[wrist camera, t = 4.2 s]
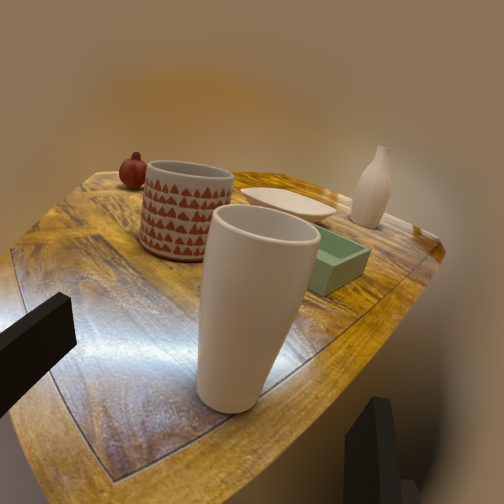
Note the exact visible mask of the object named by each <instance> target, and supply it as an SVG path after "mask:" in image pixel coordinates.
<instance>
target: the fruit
mask: <svg viewBox="0 0 504 504" xmlns="http://www.w3.org/2000/svg"><path fill="white" fill-rule="evenodd" d="M146 168H147V164H146V163H144V162H143V161H142V160H141V157H140V153H139V152H134V153H133V155H132V157H131V159H127V160H126V161H124V162H123V163H122V165H121V167H120V170H119V177H120V180H121V181H122V182H123V183H124V184H125V185H126V186H128V187H130V188H131V189H134V188H138V187H140V186H142V185H143V184H144V183H145V176H146Z"/></svg>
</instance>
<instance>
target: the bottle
mask: <svg viewBox="0 0 504 504" xmlns="http://www.w3.org/2000/svg"><path fill="white" fill-rule="evenodd" d="M390 152H391V150H390V149H388V148H385V147H382V146H377V151H376V155H375V158H374V160H373V161H372V162H371V163H370V165H369V166H368V167H367V168H366V169H365V170H364V172H363V173H362V175H361V176H360V178H359V181H358V183H357V185H356V190H355V194H354V198H353V203H352V210H351V217H350V218H351V221H352V222H354V223H355V224H358V225H360V226H363V227H366V228H370V229H375V228H376V227H377V226H378V224H379V222H380V220H381V218H382V215H383V213H384V211H385V207H386V205H387V202H388V199H389V195H390V189H391V177H390V173H389V168H388V160H389V155H390Z"/></svg>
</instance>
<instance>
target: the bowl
mask: <svg viewBox="0 0 504 504" xmlns="http://www.w3.org/2000/svg"><path fill="white" fill-rule="evenodd" d="M240 191H241V193H242V194H243V195H244V197H245V198H246V199H247V201H248V202H249V203H250V204H251V205H255V206H261V207H266V208H271V209H275V210H278V211H282V212H285V213H288V214H291V215H294V216H296V217H298V218H301V219H304V220H306V221H308V222H311V223H313V224H316V223H318V222H320V221H322V220H324V219H326V218H328V217H329V216H331V215H333V214H335V213H336V209H334V208H332V207H330V206H328V205H326V204H323V203H321V202H318V201H316V200H313V199H311V198H308V197H305V196H302V195H299V194H296V193H293V192H290V191H286V190H282V189H275V188H245V189H241V190H240Z"/></svg>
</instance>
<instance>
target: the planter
mask: <svg viewBox="0 0 504 504" xmlns="http://www.w3.org/2000/svg"><path fill="white" fill-rule="evenodd" d="M234 180H235V176H234V174H232V173H231V172H229V171H226V170H223V169H220V168H217V167H213V166H208V165H203V164H198V163H192V162H184V161H175V160H157V161H151V162H149V163H148V164H147V168H146V176H145V184H144V193H143V203H142V213H141V225H140V243H141V245H142V246H143V247H144V248H145V249H146V250H147V251H148V252H150V253H152V254H154V255H156V256H159V257H162V258H165V259H169V260H175V261H183V262H196V261H203V258H204V252H205V246H206V240H207V236H208V231H209V227H210V222H211V218H212V213H213V211H214V210H215V209H216V208H218V207H220V206H223V205H229V204H230V201H231V196H232V191H233V185H234Z"/></svg>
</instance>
